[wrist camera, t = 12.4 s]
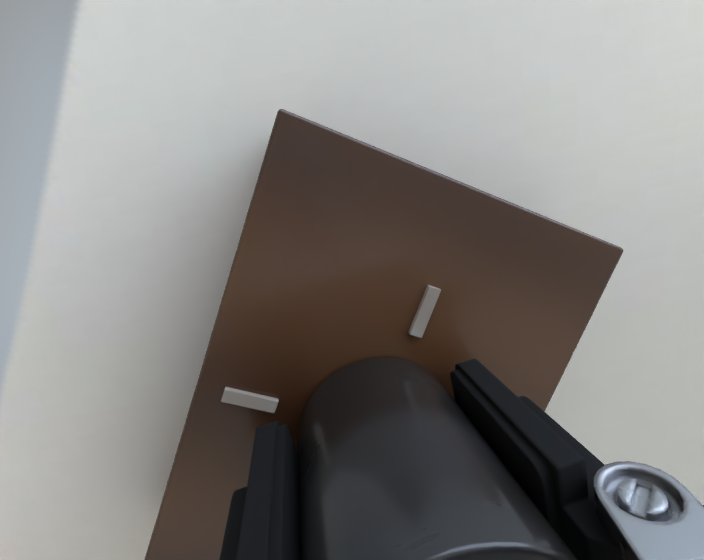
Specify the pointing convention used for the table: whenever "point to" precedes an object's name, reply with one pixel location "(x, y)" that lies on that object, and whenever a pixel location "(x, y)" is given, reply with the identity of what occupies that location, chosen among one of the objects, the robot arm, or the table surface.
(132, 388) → the table surface
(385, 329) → the knob panel
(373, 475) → the knob
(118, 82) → the table surface
